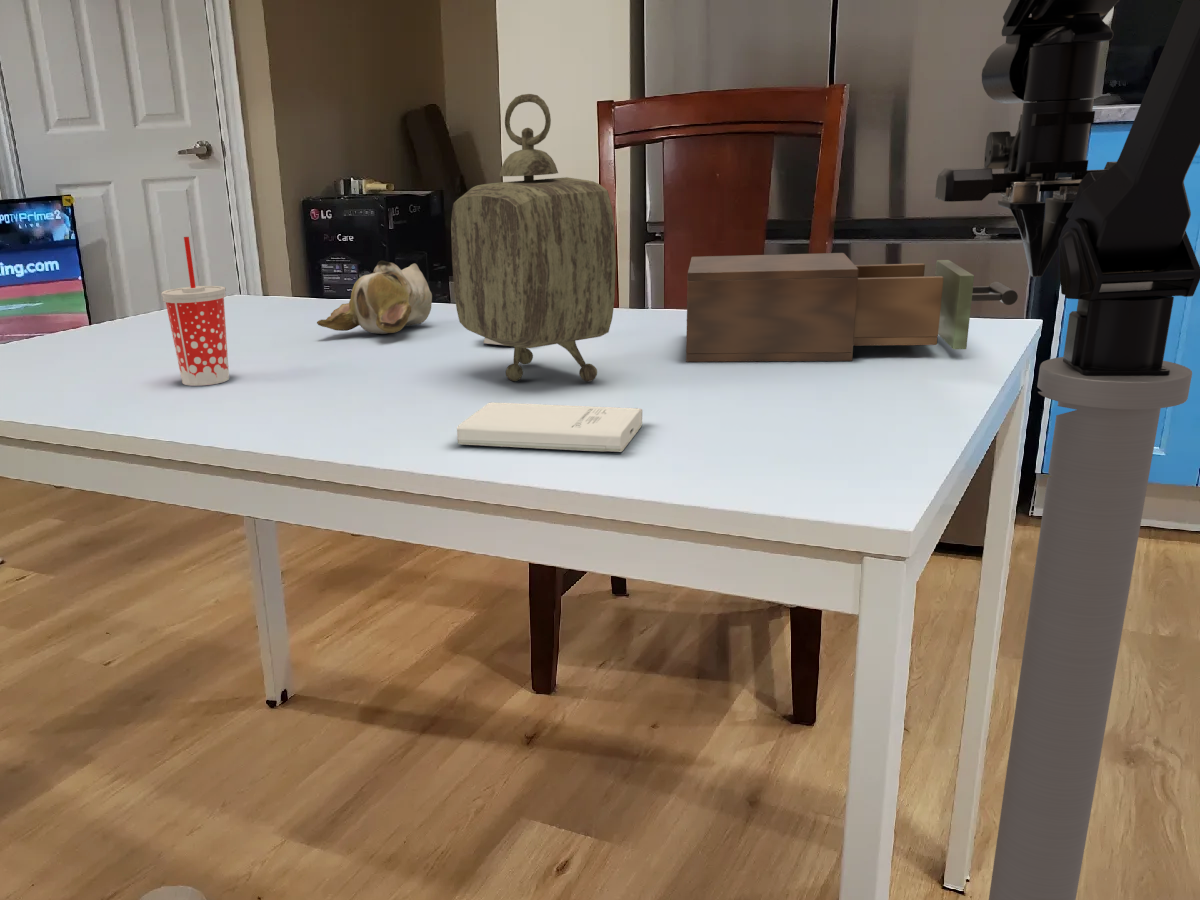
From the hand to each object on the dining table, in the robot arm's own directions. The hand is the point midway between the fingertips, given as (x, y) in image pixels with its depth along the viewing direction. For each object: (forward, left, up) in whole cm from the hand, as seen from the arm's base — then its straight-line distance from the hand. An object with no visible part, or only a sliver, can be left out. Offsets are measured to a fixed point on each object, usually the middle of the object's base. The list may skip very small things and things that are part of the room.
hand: (1035, 276), depth 105 cm
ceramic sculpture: (+69, -12, -7) cm, 70 cm away
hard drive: (+42, +35, -7) cm, 55 cm away
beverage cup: (+80, +15, -7) cm, 81 cm away
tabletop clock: (+47, +14, -7) cm, 49 cm away
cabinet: (+25, 0, -7) cm, 26 cm away
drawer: (+12, 0, -6) cm, 13 cm away
